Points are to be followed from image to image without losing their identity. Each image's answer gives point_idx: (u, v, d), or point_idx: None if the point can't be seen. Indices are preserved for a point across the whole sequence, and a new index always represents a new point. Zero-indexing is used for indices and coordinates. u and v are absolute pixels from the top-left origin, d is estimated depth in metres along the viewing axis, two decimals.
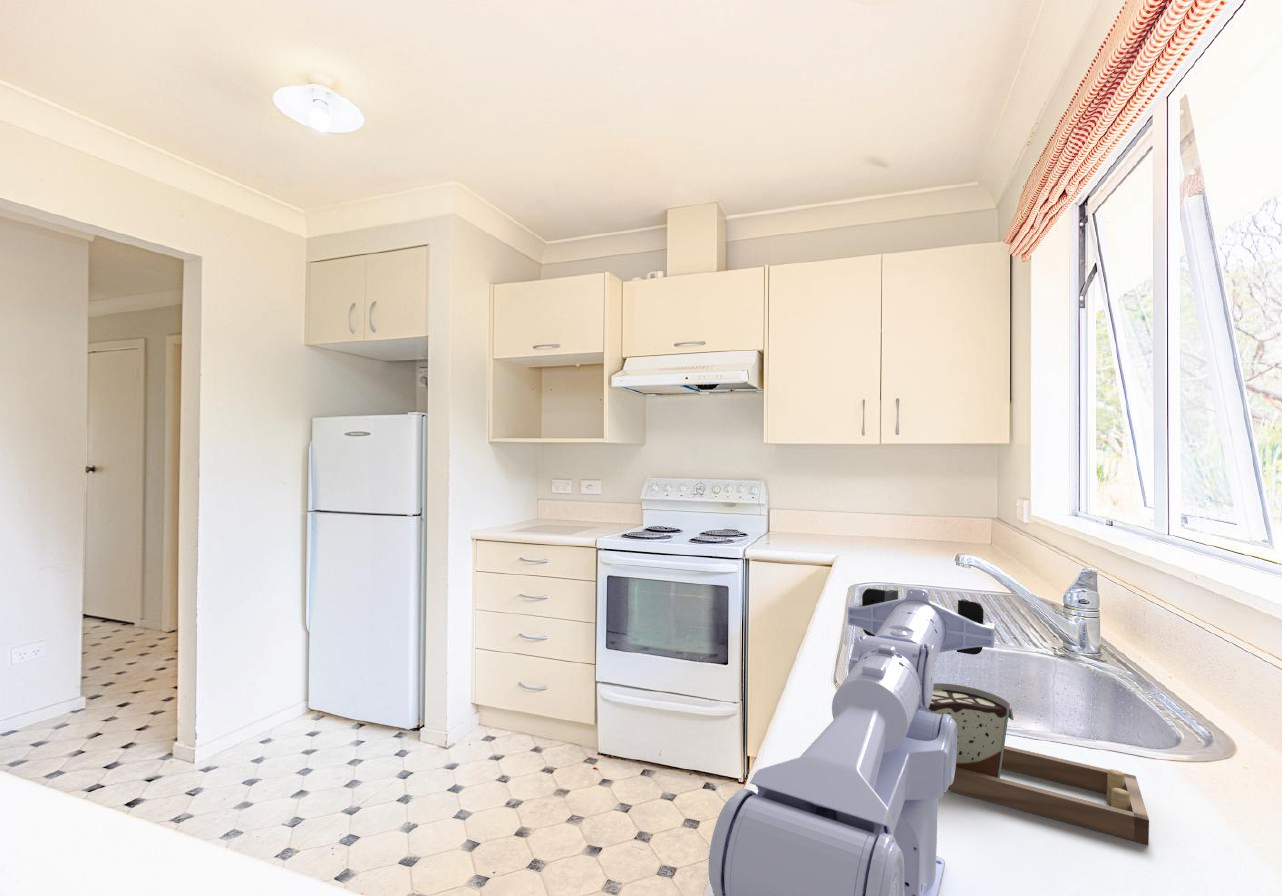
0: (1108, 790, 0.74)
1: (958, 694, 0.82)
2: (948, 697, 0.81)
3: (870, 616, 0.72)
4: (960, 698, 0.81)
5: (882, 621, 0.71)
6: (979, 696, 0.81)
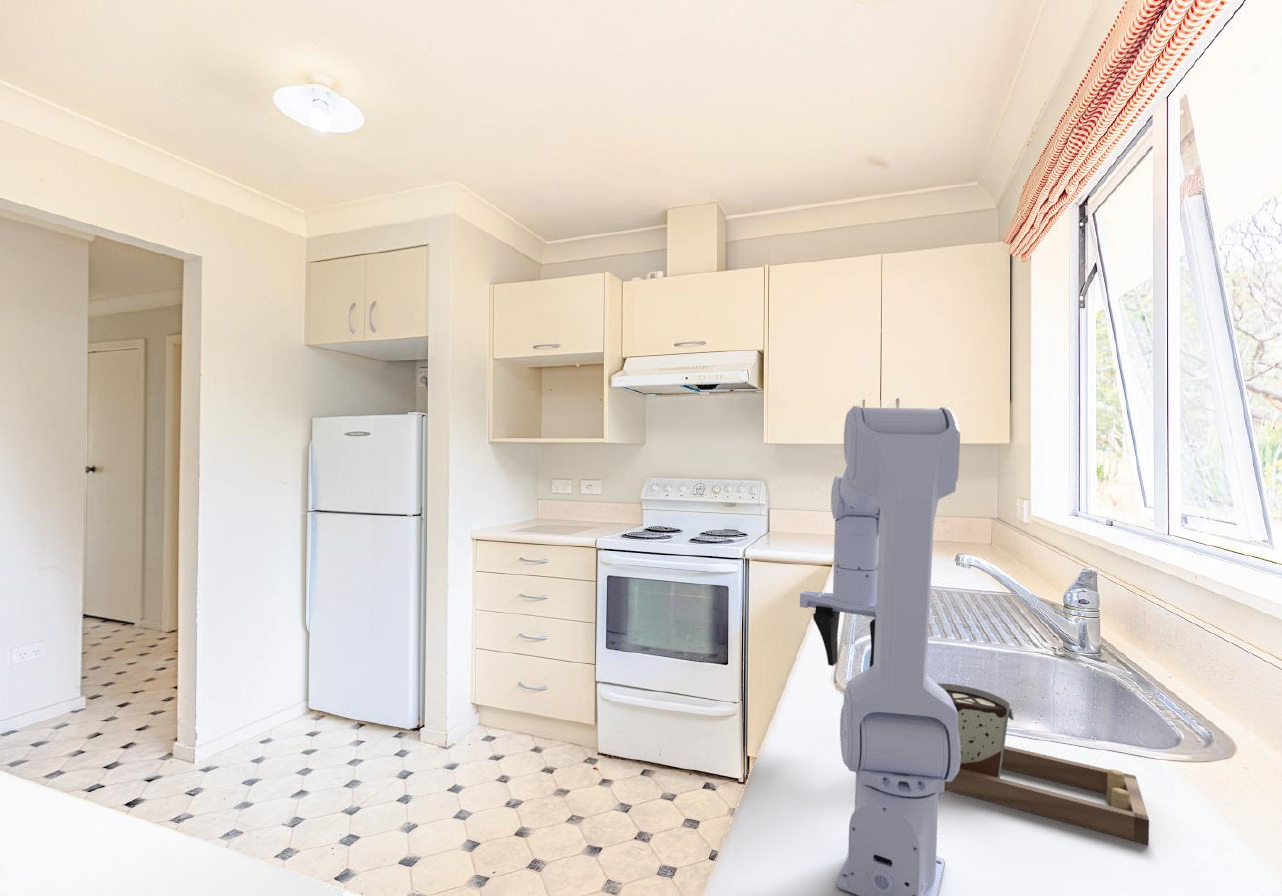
0: (1108, 790, 0.74)
1: (958, 694, 0.82)
2: None
3: None
4: (960, 698, 0.81)
5: (828, 595, 0.89)
6: (979, 696, 0.81)
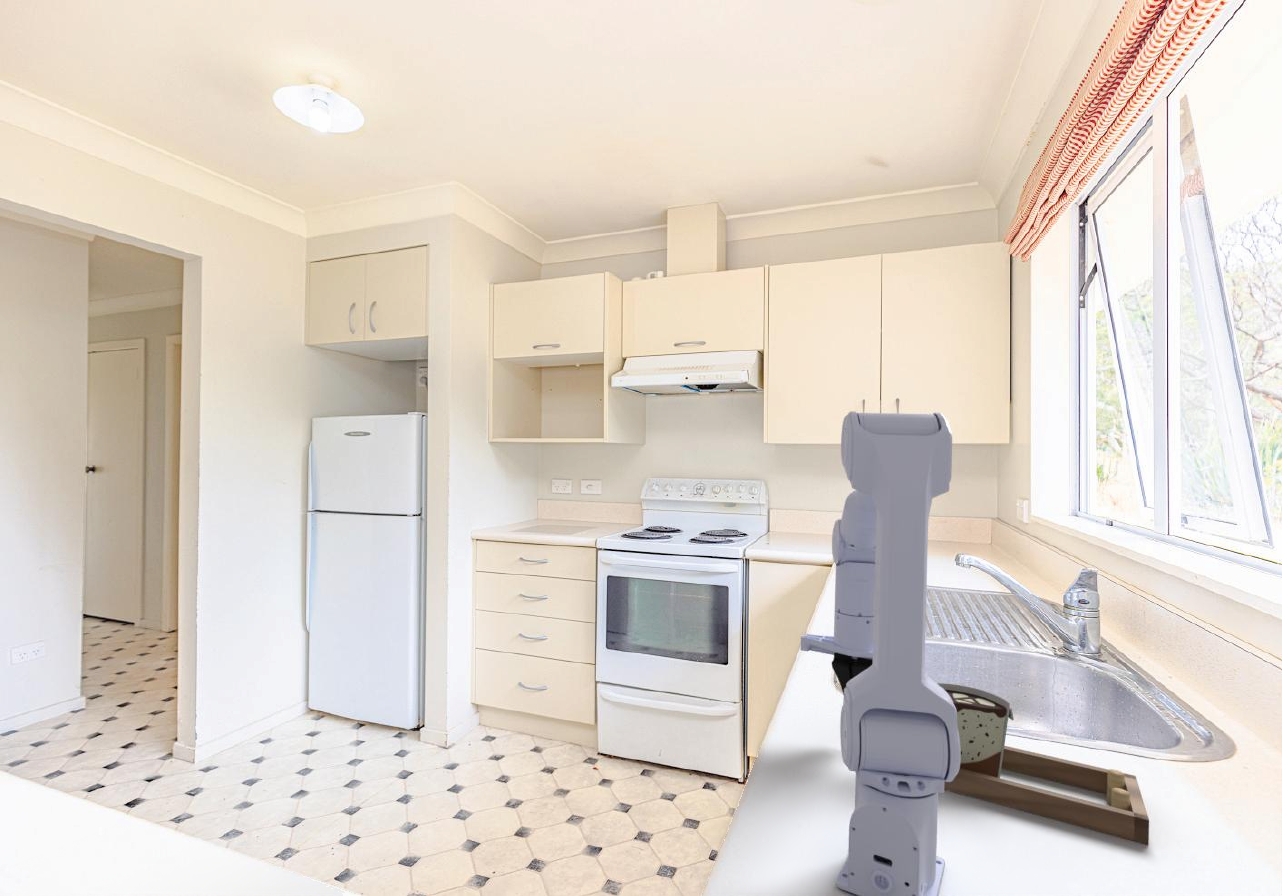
0: (1108, 790, 0.74)
1: (958, 694, 0.82)
2: None
3: None
4: (960, 698, 0.81)
5: (829, 639, 0.89)
6: (979, 696, 0.81)
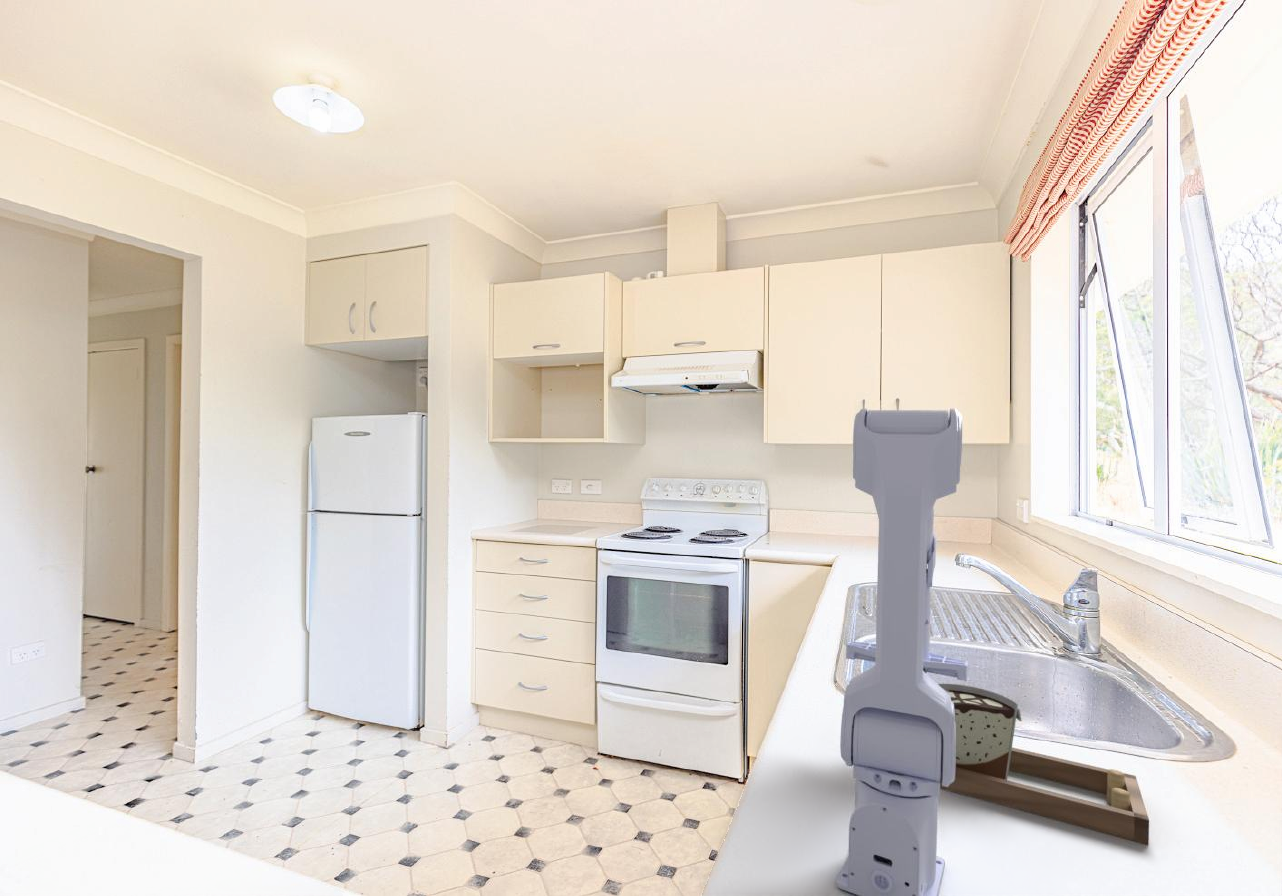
0: (1108, 790, 0.74)
1: (965, 695, 0.82)
2: (955, 698, 0.81)
3: None
4: (967, 699, 0.80)
5: None
6: (987, 697, 0.81)
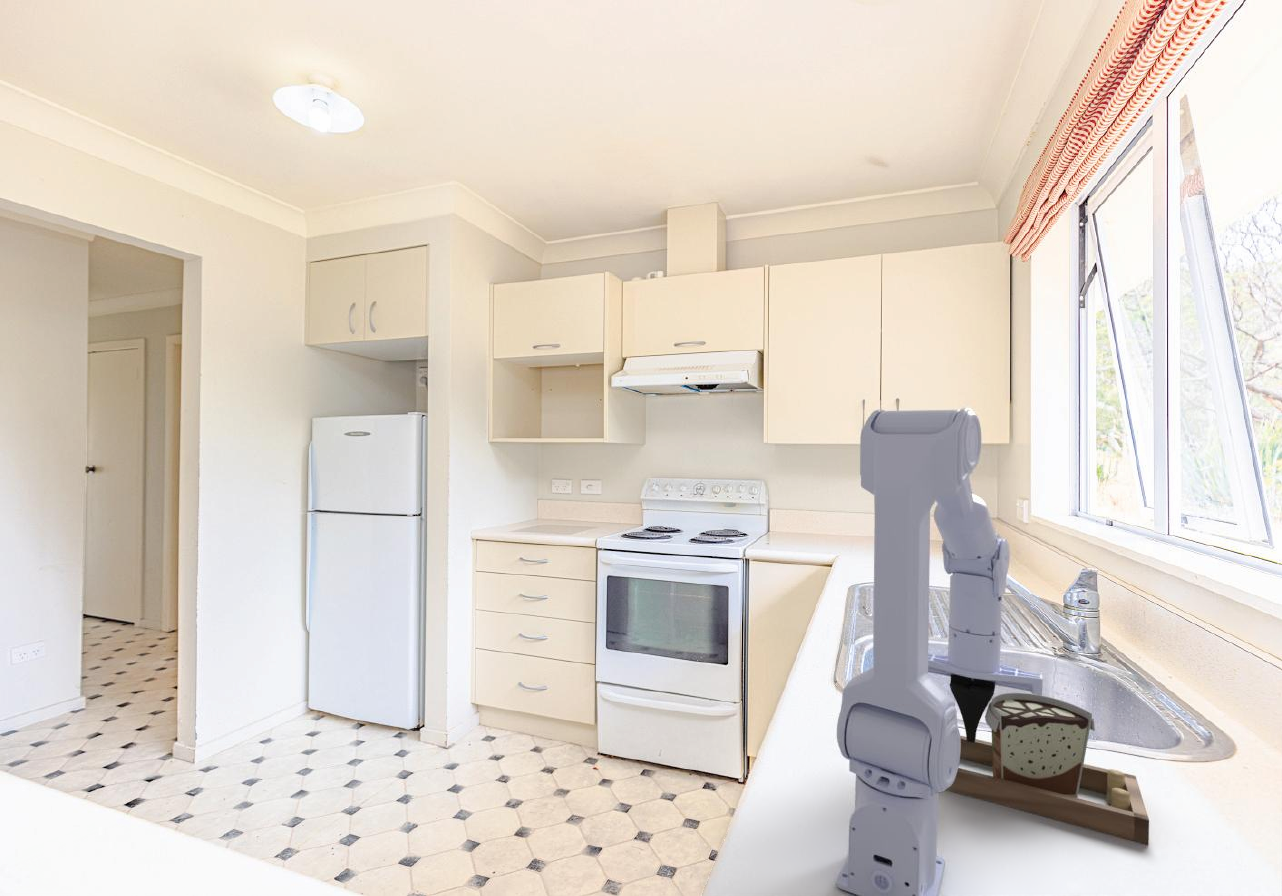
0: (1108, 790, 0.74)
1: (1032, 704, 0.79)
2: (1026, 709, 0.77)
3: None
4: (1037, 709, 0.77)
5: (942, 659, 0.82)
6: (1053, 705, 0.79)
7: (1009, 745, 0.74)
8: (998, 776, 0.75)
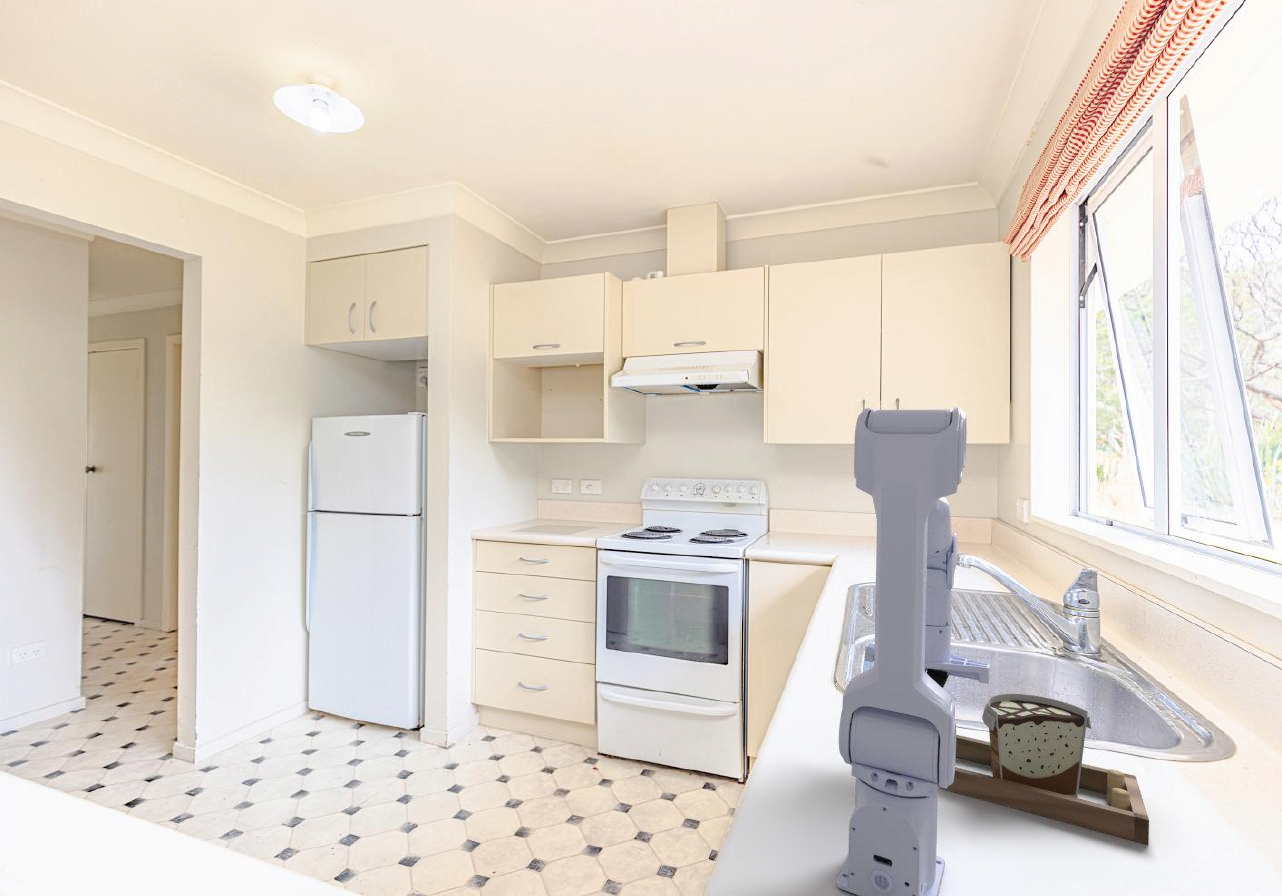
0: (1108, 790, 0.74)
1: (1028, 705, 0.79)
2: (1022, 709, 0.78)
3: None
4: (1034, 709, 0.78)
5: None
6: (1049, 705, 0.79)
7: (1007, 744, 0.75)
8: (997, 776, 0.75)
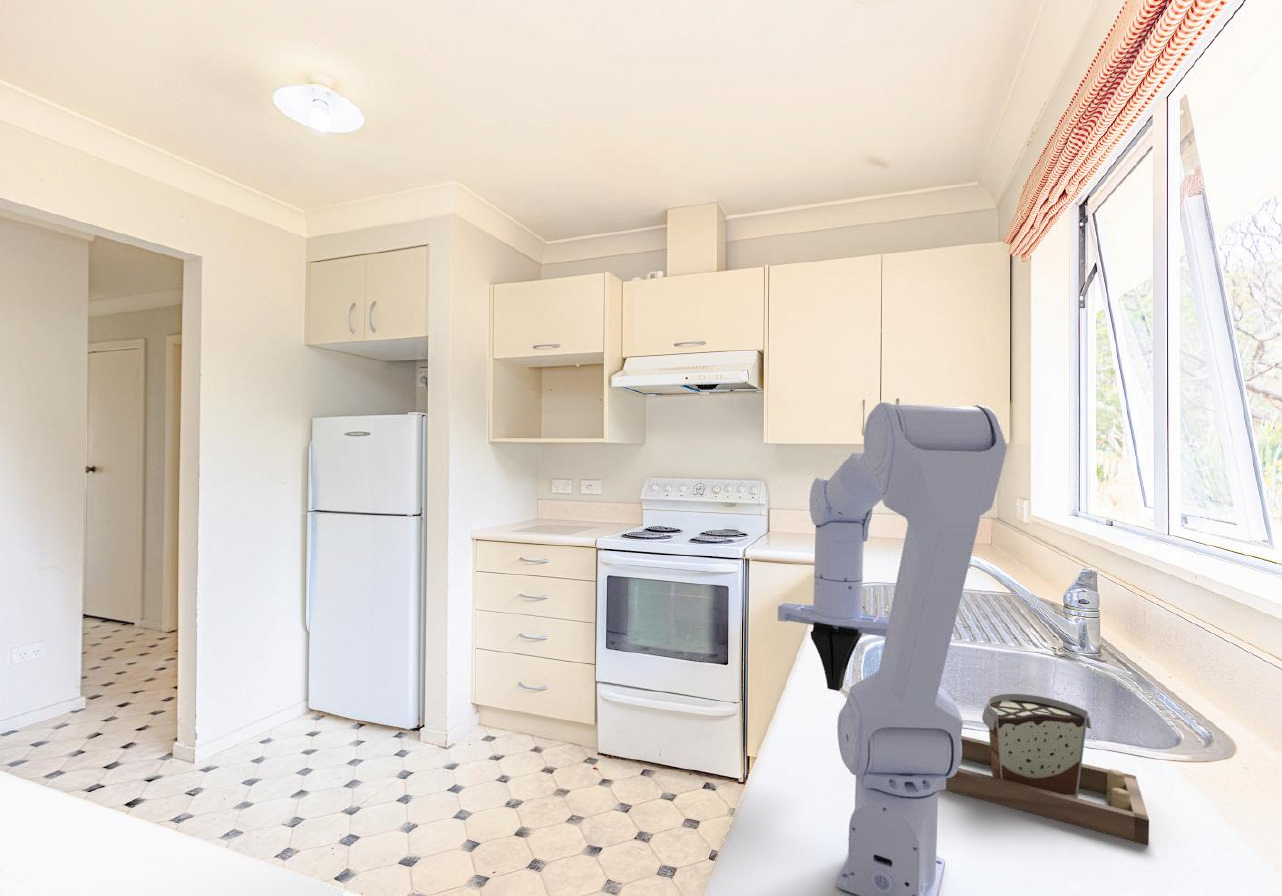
0: (1108, 790, 0.74)
1: (1028, 705, 0.79)
2: (1022, 709, 0.78)
3: None
4: (1034, 709, 0.78)
5: (809, 608, 0.82)
6: (1049, 705, 0.79)
7: (1006, 743, 0.75)
8: (997, 776, 0.75)
